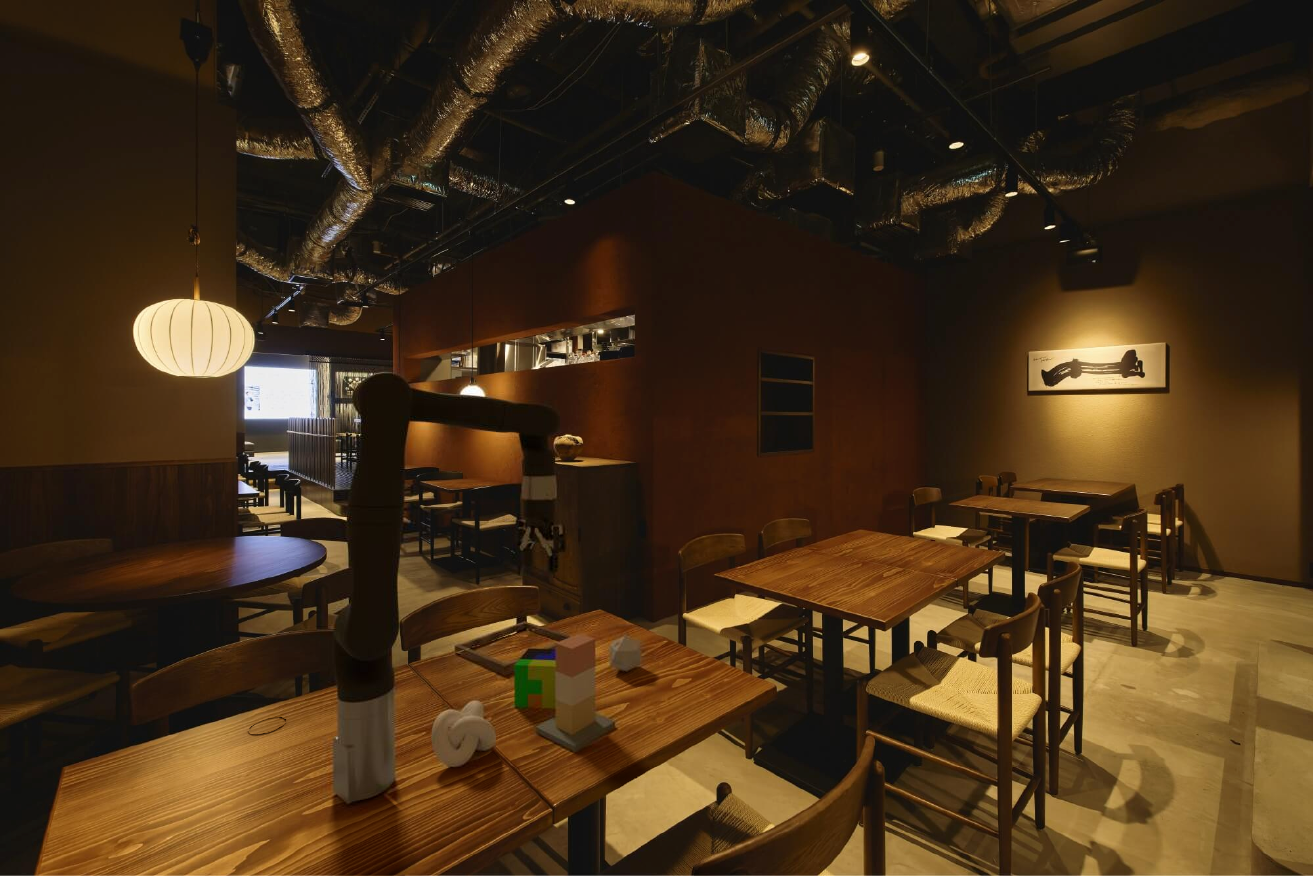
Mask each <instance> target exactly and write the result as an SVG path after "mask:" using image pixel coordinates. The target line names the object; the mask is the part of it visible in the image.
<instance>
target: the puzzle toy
mask: <svg viewBox="0 0 1313 876" xmlns="http://www.w3.org/2000/svg"><path fill="white" fill-rule="evenodd" d="M519 658H520V659H519V660H518V661H517V662H516V664H515V665H514V672H513V673H514V677H513V678H514V679H513V681H514V683H513V684H514V686H513V687H514V688H513V689H514V692H513V693H514V699H513V700H514V707H516V708H533V709H534V708H535V709H554V710H556V677H555V671H556V649H543V648H531V647H529V648H527V649H526V650H525V652H524V653H523V654H522V655H521V656H520V657H519Z"/></svg>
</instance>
